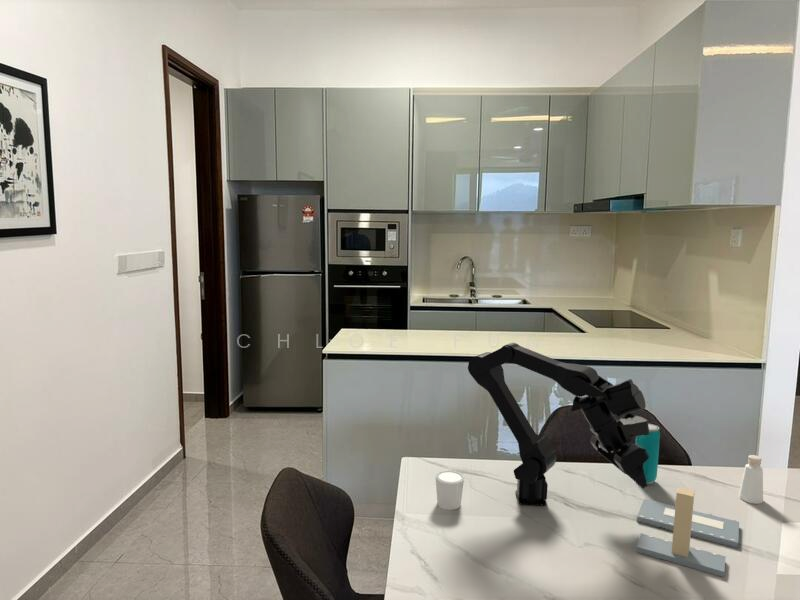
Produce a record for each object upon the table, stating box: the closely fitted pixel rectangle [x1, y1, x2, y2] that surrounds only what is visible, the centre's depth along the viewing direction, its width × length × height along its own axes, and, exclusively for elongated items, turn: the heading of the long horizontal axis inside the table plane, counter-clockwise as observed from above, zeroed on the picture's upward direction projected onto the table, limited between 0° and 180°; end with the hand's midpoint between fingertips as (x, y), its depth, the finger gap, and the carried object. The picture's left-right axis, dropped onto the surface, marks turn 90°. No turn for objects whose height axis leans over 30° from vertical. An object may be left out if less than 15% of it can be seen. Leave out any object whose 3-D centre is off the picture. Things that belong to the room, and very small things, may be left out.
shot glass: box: [435, 470, 465, 511], centre depth 138 cm, size 7×7×7 cm
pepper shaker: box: [738, 454, 764, 505], centre depth 142 cm, size 5×5×11 cm
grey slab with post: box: [635, 486, 727, 578], centre depth 117 cm, size 16×6×14 cm, turn 59°
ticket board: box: [636, 498, 740, 549], centre depth 130 cm, size 20×10×1 cm, turn 59°
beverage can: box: [634, 422, 661, 485], centre depth 151 cm, size 6×6×15 cm
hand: (635, 479), depth 130 cm, fingers open, 9 cm apart
